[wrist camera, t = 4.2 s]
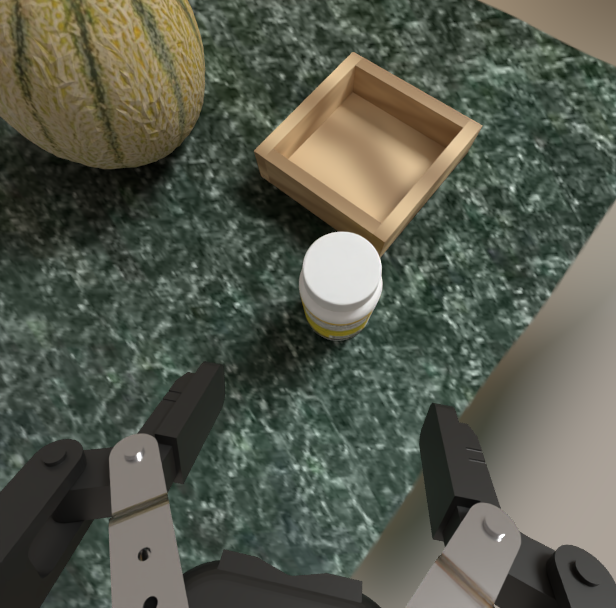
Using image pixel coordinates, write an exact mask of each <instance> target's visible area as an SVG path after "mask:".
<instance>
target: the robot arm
mask: <svg viewBox="0 0 616 608" xmlns="http://www.w3.org/2000/svg"><path fill="white" fill-rule="evenodd" d="M224 398H225V379H224V366H223V365H222V364H216V363H210V362H203V363H202V364H201V365H200V367H199V368H198V370H197V371H196V373H190V372H187V373H186V374H184V375H183V376H182V377H180V378H179V379H177V380H176V381H175V383H174V384H173V385H172V387H171V388H170V390H169V392H167V394H166V395H165V396H164V398H163V401H161V402H160V403H159V405H158V406H157V407H156V409H155V410H154V412H153V413H152V414H151V416H150V417H149V418H148V420H147V421H146V423H145V424H144V425H143V427H142V428H141V429H140V431H139V432H138V433H137V434H134V435H131V436H128V437H126V438H124V439H123V440H121V441H120V442H118V443H117V444H116V445H115V446H114V447H111V448H102V449H91V450H83V447H82V445H81V444H80V443H79V442H78V441H76V440H72V439H63V440H58V441H55V442H52V443H50V444H48V445H46V446H44V447H43V448H41V449H40V450H39V451H38V452H36V453H35V454H34V455H33V457H32V458H31V459H30V460H29V461H28V462H27V463H26V464H25V465H24V466H23V468H22V469H21V470H20V471H19V472H18V473H17V474H16V475H15V476H14V478H13V479H12V480H11V481H10V482H9V483H8V484H7V485H6V486H5V487H4V489H3V490H2V491H1V492H0V608H40V606H41V604H42V603H43V601H44V600H45V598H46V596H47V595H48V593H49V592H50V590H51V588H52V587H53V585H54V583H55V582H56V580H57V579H58V577H59V575H60V574H61V572H62V570H63V569H64V567H65V566H66V564H67V562H68V561H69V559H70V558H71V556H72V554H73V553H74V551H75V549H76V548H77V546H78V545H79V543H80V541H81V540H82V538H83V536H84V535H85V533H86V532H87V530H88V528H89V527H90V525H91V524H92V522H93V520H94V519H98V518H106V517H112V518H110V519H109V545H110V569H111V592H112V608H381V607H380V606H379V605H378V604H376V603H375V602H374V601H373V600H371V599H370V598H369V597H367V596H366V595H364V594H362V581H359V580H354V579H350V578H346V577H341V576H337V575H333V574H328V573H324V574H311V575H299V576H290V575H287V574H285V573H283V572H282V571H280V570H278V569H277V568H275V567H273V566H271V565H270V564H268V563H266V562H265V561H263V560H261V559H259V558H258V557H255V556H250V555H246V554H242V553H237V552H233V551H229V550H223V553H222V556H221V559H220V560H218V561H212V562H207V563H204V564H201V565H199V566H196V567H194V568H192V569H190V570H189V571H187V572H185V573H184V574H182V569H181V564H180V559H179V553H178V548H177V543H176V537H175V532H174V527H173V522H172V516H171V511H170V506H169V500H168V495H167V493H168V491H169V489H170V487H171V485H172V483H173V482H175V483H180V484H184V482H185V480H186V478H187V476H188V474H189V472H190V470H191V468H192V466H193V464H194V462H195V460H196V458H197V456H198V454H199V452H200V450H201V448H202V446H203V444H204V442H205V440H206V438H207V437H208V435H209V433H210V431H211V429H212V427H213V425H214V423H215V421H216V419H217V417H218V415H219V413H220V411H221V409H222V406H223V403H224ZM419 446H420V454H421V461H422V468H423V475H424V481H425V489H426V496H427V503H428V510H429V517H430V524H431V530H432V538H433V539H434V540H439V541H443V542H444V544H445V549H444V550H443V552H442V553H441V555H440V556H439V557H438V558H437V559H436V561H435V562H434V564H433V565H432V567H431V569H430V570H429V572H428V573H427V575H426V576H425V578H424V579H423V581H422V582H421V584H420V586H419V587H418V588H417V590H416V592H415V593H414V595H413V596H412V598H411V599H410V601H409V602H408V604H407V605H406V607H405V608H495V607H494V604H495V605H497V606H498V607H500V608H616V584H615V582H614V580H613V578H612V576H611V575H610V573H609V572H608V571H607V569H606V568H605V567H604V566H603V565H602V564H601V563H600V562H599V561H598V560H597V559H596V558H595V557H594V556H592V555H591V554H590V553H588V552H586V551H585V550H583V549H581V548H579V547H576V546H573V545H562V546H560V547H559V548H558V549H557V550H556V551H554V550H553V549H551V548H549V547H547V546H545V545H543V544H541V543H539V542H537V541H535V540H533V539H531V538H529V537H528V536H526V535H524V534H523V533H521V532H520V531H519V530H518V528H517V526H516V524H515V522H514V521H513V520H512V519H511V518H510V516H508V514H506V513H505V512H504V511H503V510H501V507H500V505H499V502H498V499H497V496H496V493H495V490H494V487H493V484H492V481H491V477H490V474H489V471H488V468H487V465H486V464H485V459H484V456H483V453H482V452H481V447H480V444H479V441H478V437H477V436H476V435H475V433H474V432H473V430H472V429H471V428H470V427H469V426H468V424H465V423H459V421H458V418H457V414H456V411H455V408H454V407H452V406H447V405H441V404H436V403H432V404H431V405H430V408H429V410H428V413H427V416H426V419H425V421H424V424H423V427H422V429H421V433H420V441H419Z"/></svg>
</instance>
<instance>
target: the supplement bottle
mask: <svg viewBox="0 0 616 608" xmlns="http://www.w3.org/2000/svg"><path fill="white" fill-rule="evenodd" d="M381 272H382V266H381V260H380V257H379V255H378V253H377V251H376V249H375V248H374V246H373V245H372V244H371V243H370V242H369V241H367V240H366V239H365V238H363V237H361V236H359V235H357V234H354V233H350V232H334V233H330V234H327V235H324V236H322V237H321V238H319V239H318V240H316V241H315V242H314V243H313V244H312V245H311V246H310V248H309V249H308V251H307V253H306V255H305V257H304V261H303V268H302V271H301V274H300V279H299V291H300V296H301V300H302V304H303V307H304V311H305V315H306V318H307V321H308V323H309V325H310V326H311V328H312V329H313V330H314V331H315V332H316V333H317V334H319V335H320V336H322V337H324V338H326V339H330V340H336V341H340V340H346V339H349V338H352V337H354V336H356V335H357V334H358V333H360V332H361V331H362V330H363V328H364V327H365V326H366V324H367V322H368V320H369V318H370V316H371V314H372V312H373V310H374V308H375V306H376V304H377V302H378V300H379V298H380V295H381V291H382V277H381Z"/></svg>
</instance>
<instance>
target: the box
mask: <svg viewBox="0 0 616 608" xmlns="http://www.w3.org/2000/svg"><path fill="white" fill-rule="evenodd" d="M481 128H482V125H480V124H479V123H477V122H475V121H473V120H472V119H470V118H468V117H466V116H465V115H463V114H461V113H459V112H458V111H456V110H454V109H452V108H451V107H449V106H447V105H445V104H444V103H442V102H440V101H438V100H437V99H435V98H433V97H431V96H430V95H428V94H426V93H424V92H423V91H421V90H419V89H417V88H416V87H414V86H412V85H410V84H409V83H407V82H405V81H403V80H402V79H400V78H398V77H396V76H395V75H393V74H391V73H389V72H388V71H386V70H384V69H382V68H381V67H379V66H377V65H375V64H374V63H372V62H370V61H368V60H367V59H365V58H363V57H361V56H360V55H358V54H356V53H354V52H352V53H351V54H350V55H349V56H348V57H347V58H346V59H345V60H344V61H343V62H342V63H341V64H340V65H339V66H338V67H337V68H336V69H335V70H334V71H333V72H332V73H331V74H330V75H329V76H328V77H327V78H326V79H325V80H324V81H323V82H322V83H321V84H320V85H319V86H318V87H317V88H316V89H315V90H314V91H313V92H312V93H311V94H310V95H309V96H308V97H307V98H306V99H305V100H304V101H303V102H302V103H301V104H300V105H299V106H298V107H297V108H296V109H295V110H294V111H293V112H292V113H291V114H290V115H289V116H288V117H287V118H286V119H285V120H284V121H283V122H282V123H281V124H280V125H279V126H278V127H277V128H276V129H275V130H274V131H273V132H272V133H271V134H270V135H269V136H268V137H267V138H266V139H265V140H264V141H263V142H262V143H261V144H260V145H259V146H258V147H257V148H256V149H255V150H254V153H255V156H256V160H257V163H258V167H259V171H260V174H261V176H262V177H263V178H264V179H266V180H267V181H269V182H270V183H271V184H273V185H274V186H276V187H277V188H278V189H280V190H281V191H283V192H284V193H285V194H287V195H288V196H290V197H291V198H292V199H294V200H295V201H297V202H298V203H299V204H301V205H302V206H304V207H305V208H306V209H308V210H309V211H311V212H312V213H313V214H315V215H316V216H318V217H319V218H320V219H322V220H323V221H325V222H326V223H327V224H329V225H330V226H332V227H333V228H334V229H336V230H337V231H339V232H350V233H354V234H357V235H359V236H361V237H363V238H365V239H366V240H367V241H369V242H370V243H371V244H372V245H373V246H374V248H375V249H376V251H377V253H378V255H379V257H381V256H382V255H383V254H384V253H385V251H386V250H387V249H388V248H389V247H390V245H391V244H392V243H393V242H394V240H395V239H396V238H397V237H398V236H399V234H400V233H401V232H402V231H403V230H404V228H405V227H406V226H407V225H408V224H409V222H410V221H411V220H412V219H413V218H414V216H415V215H416V214H417V213H418V212H419V210H420V209H421V208H422V207H423V206H424V204H425V203H426V202H427V201H428V200H429V198H430V197H431V196H432V195H433V194H434V192H435V191H436V190H437V189H438V188H439V186H440V185H441V184H442V183H443V182H444V180H445V179H446V178H447V177H448V176H449V174H450V173H451V172H452V171H453V170H454V168H455V167H456V166H457V165H458V164H459V162H460V161H461V160H462V159H463V158H464V156H465V155H466V154H467V152H468V151H469V149H470V147H471V145H472V144H473V142H474V140H475V138H476V136H477V135H478V133H479V131H480V129H481Z"/></svg>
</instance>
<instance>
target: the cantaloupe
mask: <svg viewBox="0 0 616 608" xmlns="http://www.w3.org/2000/svg"><path fill="white" fill-rule="evenodd" d="M204 75H205V61H204V51H203V44H202V40H201V36H200V32H199V29H198V26H197V23H196V20H195V17H194V14H193V11H192V9H191V7H190V5H189V3H188V1H187V0H0V116H1V117H2V118H3V119H4V120H5V121H7V122H8V124H9V125H11V126H12V127H13V128H15V129H16V130H17V131H18V132H19V133H20V134H21V135H23V136H24V137H26V138H27V139H28V140H30V141H32V142H33V143H34V144H36V145H38V146H39V147H40V148H42V149H44V150H45V151H47V152H49V153H53V154H54V155H55V156H57V157H59V158H63V159H67V160H70V161H73V162H76V163H81V164H83V165H86V166H90V167H93V168H101V169H116V168H130V167H138V166H142V165H146V164H149V163H152V162H156V161H158V160H159V159H162V158H164V157H165V156H167V155H169V154H170V153H172V152H173V151H174V149H175V148H176V147H178V146H180V145H181V143H182V142H183V140H184V139H185V138H186V137H187V136H188V135H189V134H190V132H191V131H192V129H193V127H194V125H195V123H196V121H197V120H198V117H199V114H200V111H201V108H202V105H203V97H204V89H205V78H204Z"/></svg>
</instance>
